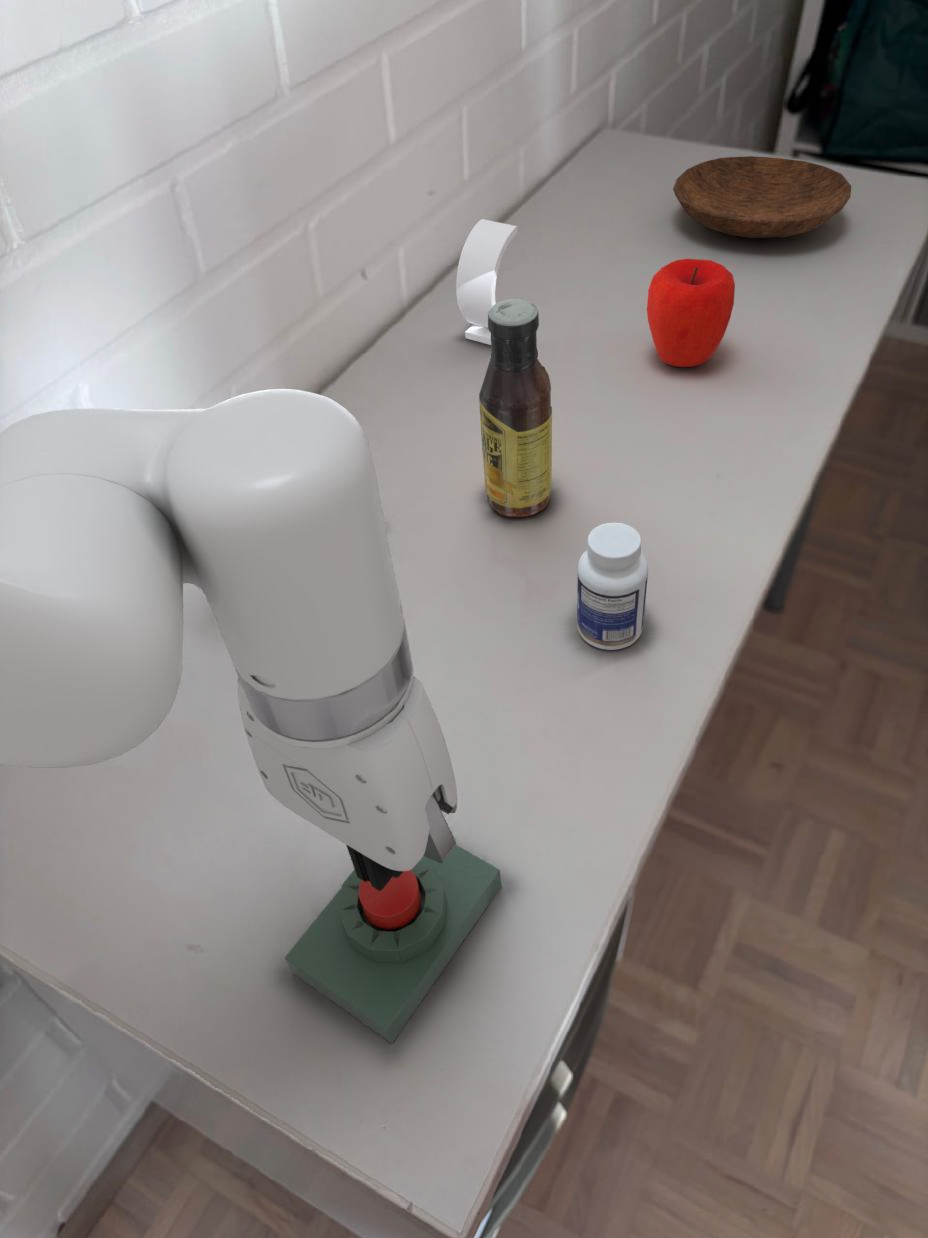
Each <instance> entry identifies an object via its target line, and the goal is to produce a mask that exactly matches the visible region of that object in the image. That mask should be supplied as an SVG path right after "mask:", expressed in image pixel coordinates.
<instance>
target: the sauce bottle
mask: <svg viewBox="0 0 928 1238" xmlns="http://www.w3.org/2000/svg"><path fill="white" fill-rule="evenodd" d="M539 326H540V315H539V310H538V308H537V306H536V305H535V303H533V302H531V301H529V300H524V299H522V298H509V299H504V300H501V301H498V302H496V304H495V305H494V306H493V307H492V308H491V309H490V310H489V312H488V329H489V331H490V333H491V345H490V348H491V349H490V350H491V352H490V359H489V362H488V365H487V368H486V372H485V374H484V378H483V381H482V384H481V387H480V390H479V393H478V402H479V417H480V435H481V449H482V450H481V451H482V462H483V476H484V478H483V479H484V489H485V493H486V498H487V502H488V504H489V505H490V507H491V508H492V509H494V511H496V512H497V514H500V516H504V517H511V518H525V517H530V516H534V515H535V514H537V513H540V512H541V511H543V510H544V509H545V508H546V507H547V506H548V503H549V501H550V497H551V490H552V485H553V484H552V481H553V480H552V478H553V477H552V475H553V473H552V472H553V470H552V469H553V468H552V467H553V461H552V460H553V459H552V458H553V407H552V400H551V399H552V398H551V396H552V395H551V392H552V386H551V384H552V383H551V380H550V375H549V372H547V369H546V367H545V366H543V365H542V363H541V362H540V361H539V359H538V357H539V351H538V347H537V345H538V344H537V343H538V342H537V332H538V330H539Z"/></svg>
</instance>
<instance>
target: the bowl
mask: <svg viewBox="0 0 928 1238" xmlns="http://www.w3.org/2000/svg"><path fill="white" fill-rule="evenodd" d="M672 190H673V193H674V196H675V198H676V199H677V201H678V203H679V205H680V206H681V208H682V210H683V211H684V212H685V213H686V214H687V215H688V216H689V217H690V218H691V219H692V220H695V222H697V223H699V224H701V225H702V226H704V227H706V228H707V229H711V230H714V231H716V232H720V233H723V234H726V235H729V236H735V237H741V238H748V239H768V238H787V237H792V236H796V235H801V234H805V233H808V232H811V231H812V230H814V229H816V228H818V227H820V226H822V225H823V224H825V223H827V222H828V221H829V220H831V219H832V218H833V217H834V216H836V215H837V214H838V213H839V212H841V211H842V210H843V209H844V207H845V206H846V204H847V203H848V201H849V200H850V199H851V194H852V185H851V184H850V182H849V180H848V179H846V177H845V176H844V174H842V173H841V172H840V171H839V172H838V171H837V170H834V169H832V168H830V167H827V166H824V165H820V164H817V163H812V162H809V161H803V160H797V159H790V158H788V159H787V158H782V157H781V158H780V157H769V156H768V157H767V156H753V155H749V156H748V155H747V156H729V157H719V158H714V159H710V160H706V161H701V162H700V163H697V164H695V165H693V166H691V167H689V168H687V169H686V170H684V171H683V172H682V173H681V174H680V175H679V176H678V177H677V178H676V179H675V182H674V185H673V188H672Z"/></svg>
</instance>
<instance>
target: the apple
mask: <svg viewBox="0 0 928 1238" xmlns="http://www.w3.org/2000/svg"><path fill="white" fill-rule="evenodd" d="M735 292H736V283H735V279H734V275H733V273H732V272H730V270H729V269H727V268H726V266H724V265H722V264H721V263H718V262H716V261H714V260H711V259H700V258H699V259H698V258H683V259H676V260H674V261H671V262H669V263H667V264H666V265H664V266H662V267H661V268H660V269H659V270H658V271H657V272H656V273H654V274H653V276H652V277H651V281H650V284H649V287H648V291H647V302H646V316H647V322H648V327H649V331H650V334H651V338H652V342H653V344H654V347H655V351H656V354H657V355H658V357H659V359H660V361H662V362H663V363H665V364H668V365H670V366H671V367H672V366H673V367H677V368H678V367H679V368H691V367H693V368H694V367H697V366H700V365H703V364H704V363H706V361H708V360H709V359H710V358H711V357H712V356H713V354H714V353H715V352H716V350H717V349H718V348H719V346H720V344H721V342H722V340H723V338H724V336H725V334H726V331H727V329H728V326H729V324H730V321H731V317H732V312H733V308H734V305H735Z"/></svg>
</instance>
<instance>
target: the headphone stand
mask: <svg viewBox="0 0 928 1238" xmlns="http://www.w3.org/2000/svg"><path fill="white" fill-rule="evenodd" d="M517 235H518V225H513V224H508V223H504V222H498V221H493V220H489V219H484V218H481V219H480V220H478V221H477V223H476V224H475V225H474V226H473V228H471V231H470V232H469V234H468V236H467V238H466V240H465V242H464V245H463V247H462V250H461V253H460V256H459V261H458V264H457V271H456V282H455V291H456V293H455V294H456V300H457V301H456V302H457V305H458V310H459V311H460V313H461V316H462V317H463V319H464V320H465V321H467V322H468V323H469V324H472V325H471V326H470V327H469V328H467V330H465V331H464V335H465V336H464V337H465V339H466V340H470V341H474V342H478V343H481V344H486V345H489V346H491V333H490V331H489V329H488V312H489V310H490V309H491V308H492V307H493V306H494V305H495V304H497V302H496V286H497V280H498V279H497V277H498V273H499V269H500V265H501V263H502V260H503V257H504V255H505V253H506V250H507V248H508V246H509V245H510V243H511V242H512V240H513V239H514V238H515V237H516V236H517Z"/></svg>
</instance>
